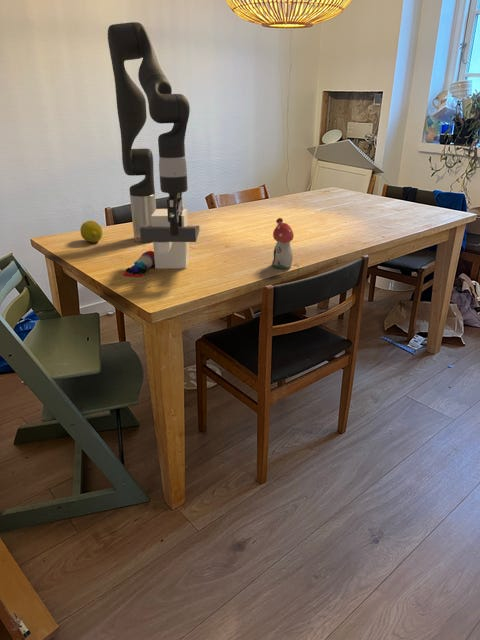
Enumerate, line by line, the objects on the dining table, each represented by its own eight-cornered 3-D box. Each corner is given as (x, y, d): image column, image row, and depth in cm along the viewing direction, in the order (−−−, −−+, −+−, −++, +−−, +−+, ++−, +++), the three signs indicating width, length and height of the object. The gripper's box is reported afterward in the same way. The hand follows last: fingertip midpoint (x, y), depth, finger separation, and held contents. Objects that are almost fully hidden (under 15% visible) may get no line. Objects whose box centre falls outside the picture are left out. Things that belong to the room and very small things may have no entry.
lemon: (105, 244, 179) (102, 223, 175) (83, 246, 176) (80, 225, 173) (101, 237, 188) (98, 216, 184) (80, 239, 185) (77, 218, 182)
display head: (148, 258, 163) (144, 208, 156) (201, 258, 163) (199, 208, 156) (135, 281, 143) (129, 225, 136) (195, 281, 143) (192, 225, 136)
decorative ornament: (271, 260, 161) (272, 216, 154) (290, 260, 161) (292, 216, 154) (272, 270, 152) (274, 223, 146) (293, 270, 152) (295, 223, 146)
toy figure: (142, 283, 147) (165, 260, 158) (138, 269, 144) (161, 247, 156) (122, 281, 150) (145, 260, 161) (117, 268, 147) (141, 246, 158)
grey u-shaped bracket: (149, 230, 151) (147, 217, 149) (199, 230, 150) (199, 217, 149) (141, 241, 139) (139, 228, 137) (195, 241, 139) (195, 228, 137)
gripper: (183, 177, 125) (187, 238, 132) (189, 170, 138) (191, 225, 145) (155, 177, 125) (159, 238, 132) (163, 170, 138) (167, 225, 145)
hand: (176, 231), depth 138 cm, fingers open, 8 cm apart
